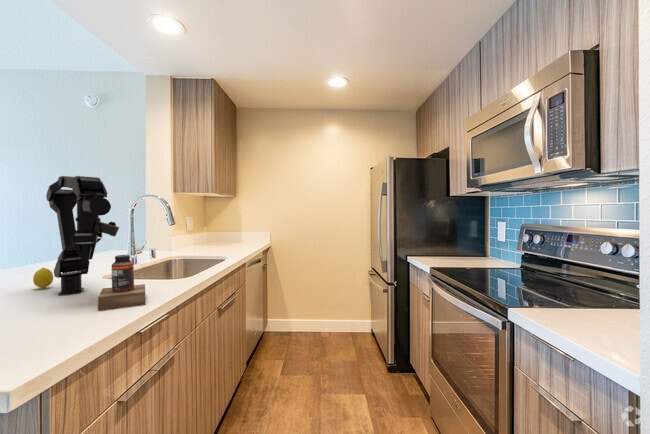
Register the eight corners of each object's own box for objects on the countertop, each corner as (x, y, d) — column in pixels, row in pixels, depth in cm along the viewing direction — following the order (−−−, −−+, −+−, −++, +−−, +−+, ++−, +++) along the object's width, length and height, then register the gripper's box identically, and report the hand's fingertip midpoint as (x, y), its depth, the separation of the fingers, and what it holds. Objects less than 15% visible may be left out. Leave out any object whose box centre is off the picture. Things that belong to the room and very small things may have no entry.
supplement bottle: (130, 286, 102) (130, 253, 101) (136, 290, 98) (136, 255, 98) (109, 290, 97) (108, 255, 97) (115, 293, 93) (115, 257, 93)
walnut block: (102, 300, 100) (102, 288, 100) (145, 295, 106) (145, 284, 106) (97, 311, 89) (97, 297, 89) (145, 304, 95) (144, 292, 95)
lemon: (50, 286, 118) (49, 265, 117) (55, 288, 115) (55, 267, 115) (31, 289, 113) (30, 268, 113) (36, 291, 110) (36, 269, 110)
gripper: (115, 215, 96) (115, 264, 96) (119, 214, 112) (119, 255, 112) (70, 215, 90) (70, 267, 91) (80, 213, 106) (81, 258, 107)
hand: (88, 261), depth 100 cm, fingers open, 9 cm apart
